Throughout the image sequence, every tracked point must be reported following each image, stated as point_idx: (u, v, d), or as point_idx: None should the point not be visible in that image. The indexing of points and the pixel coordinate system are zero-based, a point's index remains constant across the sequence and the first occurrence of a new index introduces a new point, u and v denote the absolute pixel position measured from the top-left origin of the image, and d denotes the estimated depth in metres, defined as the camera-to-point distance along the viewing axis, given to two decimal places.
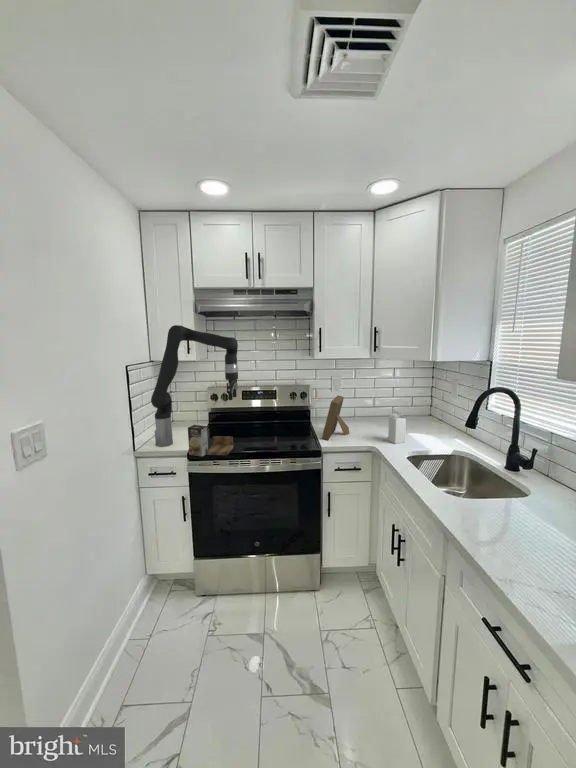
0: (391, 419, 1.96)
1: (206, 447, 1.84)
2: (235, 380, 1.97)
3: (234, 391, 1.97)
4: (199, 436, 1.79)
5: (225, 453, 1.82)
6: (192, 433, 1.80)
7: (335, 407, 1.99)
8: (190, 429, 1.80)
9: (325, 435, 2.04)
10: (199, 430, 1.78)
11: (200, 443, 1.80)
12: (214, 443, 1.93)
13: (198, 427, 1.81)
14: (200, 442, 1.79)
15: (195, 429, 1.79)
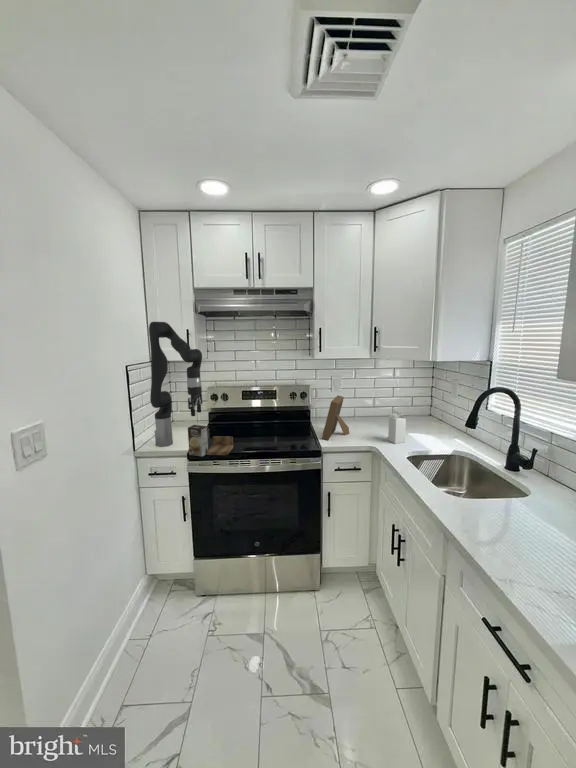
0: (391, 419, 1.96)
1: (206, 447, 1.84)
2: (199, 394, 1.85)
3: (198, 406, 1.85)
4: (199, 436, 1.79)
5: (225, 453, 1.82)
6: (192, 433, 1.80)
7: (335, 407, 1.99)
8: (190, 429, 1.80)
9: (325, 435, 2.04)
10: (199, 430, 1.78)
11: (200, 443, 1.80)
12: (214, 443, 1.93)
13: (198, 427, 1.81)
14: (200, 442, 1.79)
15: (195, 429, 1.79)
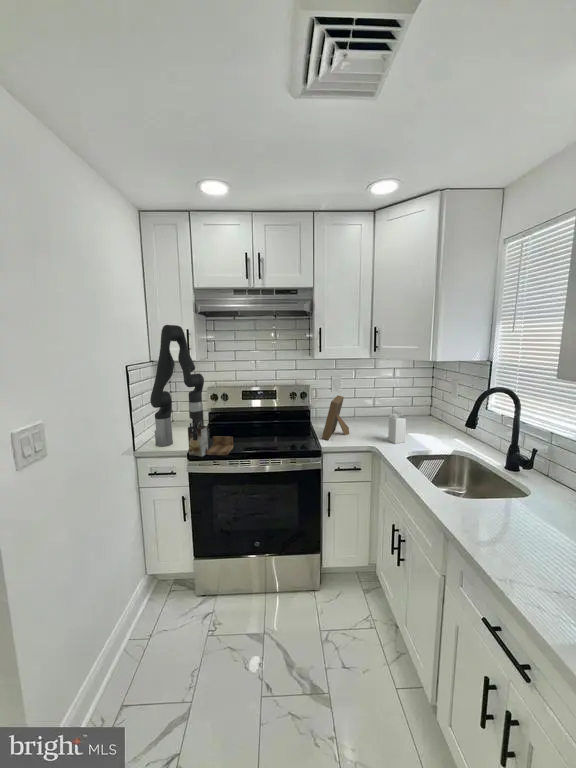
0: (391, 419, 1.96)
1: (206, 447, 1.84)
2: (201, 418, 1.87)
3: None
4: (199, 436, 1.79)
5: (225, 453, 1.82)
6: None
7: (335, 407, 1.99)
8: None
9: (325, 435, 2.04)
10: (199, 430, 1.78)
11: (200, 443, 1.79)
12: (214, 443, 1.93)
13: None
14: (200, 442, 1.79)
15: None
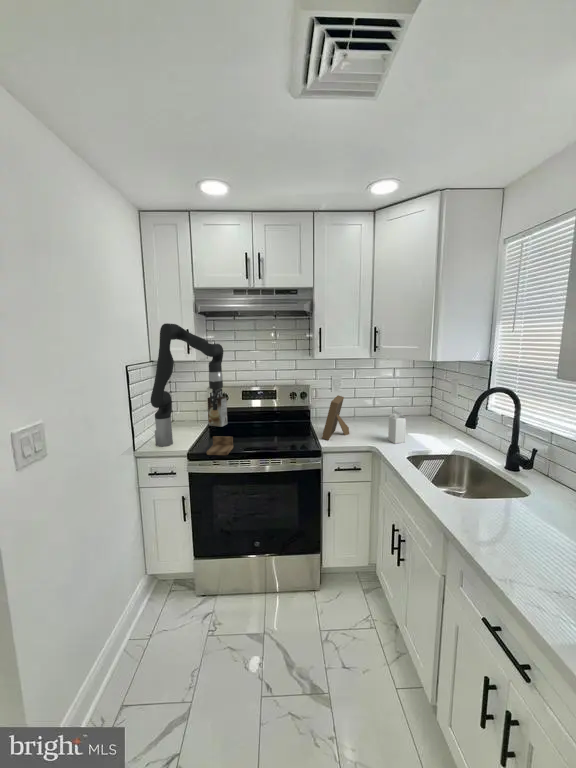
0: (391, 419, 1.96)
1: (225, 418, 1.84)
2: (220, 389, 1.88)
3: None
4: (219, 406, 1.79)
5: (225, 453, 1.82)
6: None
7: (335, 407, 1.99)
8: None
9: (325, 435, 2.04)
10: (219, 400, 1.79)
11: (220, 413, 1.80)
12: (214, 443, 1.93)
13: (218, 397, 1.81)
14: (220, 412, 1.80)
15: None
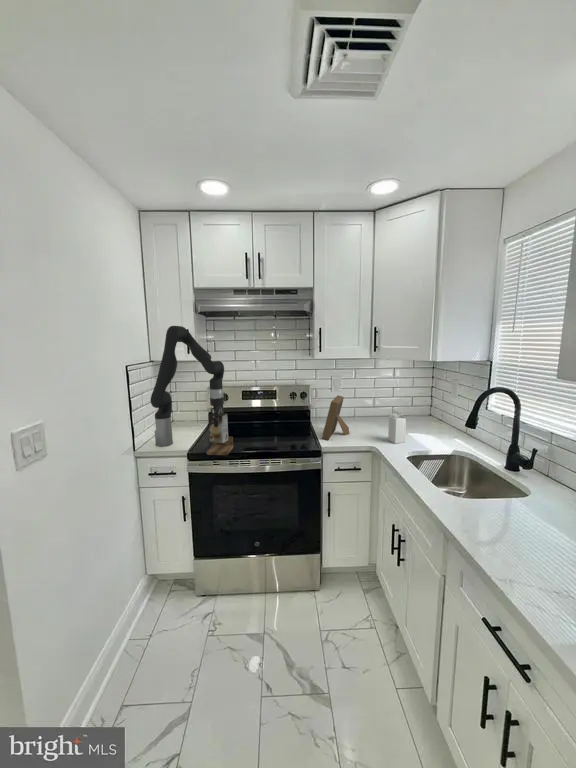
0: (391, 419, 1.96)
1: (226, 434, 1.86)
2: (221, 405, 1.89)
3: None
4: (220, 423, 1.81)
5: (225, 453, 1.82)
6: None
7: (335, 407, 1.99)
8: (211, 416, 1.82)
9: (325, 435, 2.04)
10: (220, 417, 1.80)
11: (221, 430, 1.81)
12: (214, 443, 1.93)
13: (219, 414, 1.83)
14: (221, 429, 1.81)
15: None
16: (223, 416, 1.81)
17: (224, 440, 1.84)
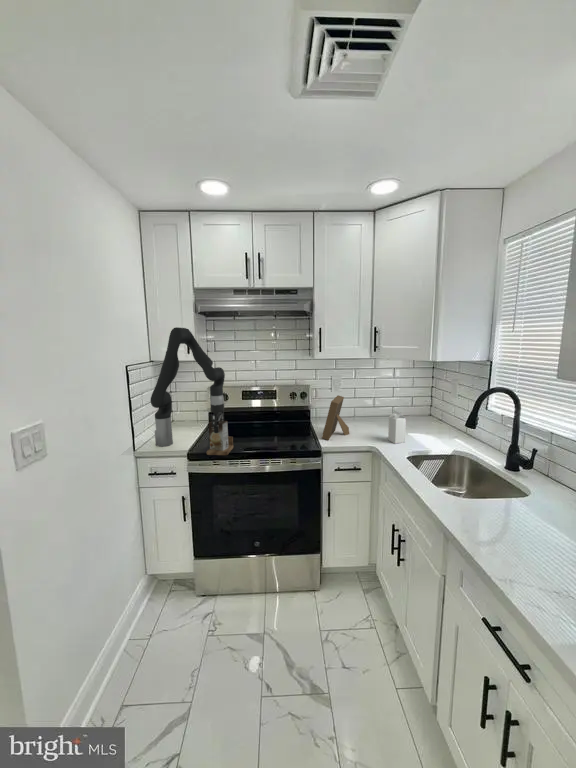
0: (391, 419, 1.96)
1: (227, 442, 1.86)
2: None
3: None
4: (220, 431, 1.81)
5: (225, 453, 1.82)
6: (213, 428, 1.83)
7: (335, 407, 1.99)
8: (211, 424, 1.83)
9: (325, 435, 2.04)
10: (220, 425, 1.81)
11: (221, 437, 1.82)
12: None
13: (219, 422, 1.83)
14: (222, 436, 1.82)
15: None
16: (223, 424, 1.82)
17: (224, 448, 1.84)
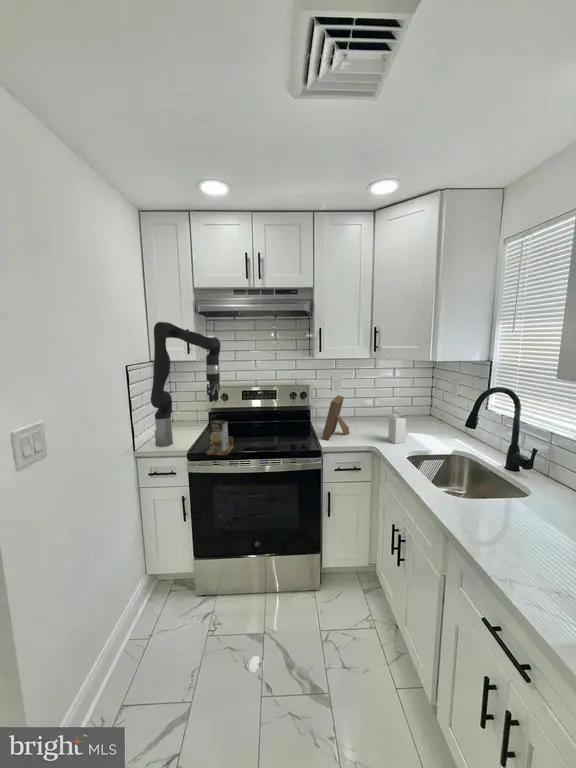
0: (391, 419, 1.96)
1: (227, 442, 1.86)
2: (217, 381, 1.93)
3: (216, 392, 1.92)
4: (220, 431, 1.81)
5: (225, 453, 1.82)
6: (213, 428, 1.83)
7: (335, 407, 1.99)
8: (211, 424, 1.83)
9: (325, 435, 2.04)
10: (220, 425, 1.81)
11: (221, 437, 1.82)
12: None
13: (219, 422, 1.83)
14: (222, 436, 1.82)
15: (216, 424, 1.82)
16: (223, 424, 1.82)
17: (224, 448, 1.84)
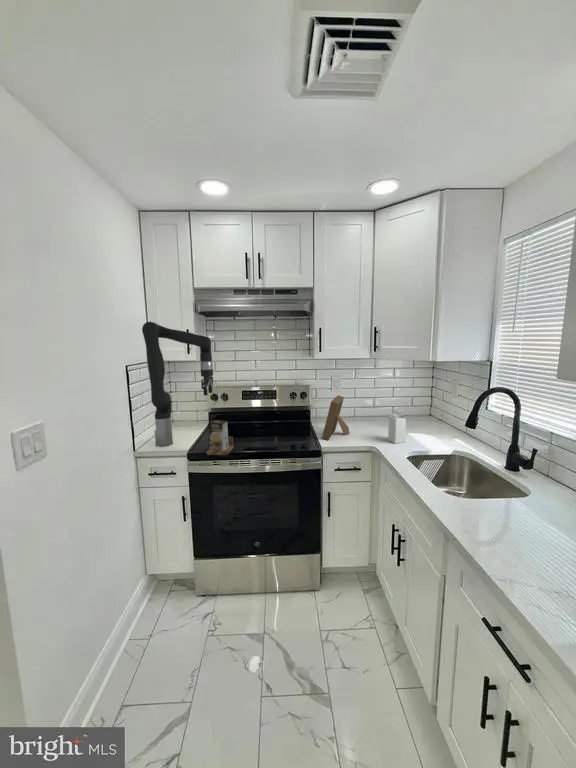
0: (391, 419, 1.96)
1: (227, 442, 1.86)
2: (211, 377, 2.09)
3: (210, 387, 2.09)
4: (220, 431, 1.81)
5: (225, 453, 1.82)
6: (213, 428, 1.83)
7: (335, 407, 1.99)
8: (211, 424, 1.83)
9: (325, 435, 2.04)
10: (220, 425, 1.81)
11: (221, 437, 1.82)
12: None
13: (219, 422, 1.83)
14: (222, 436, 1.82)
15: (216, 424, 1.82)
16: (223, 424, 1.82)
17: (224, 448, 1.84)
